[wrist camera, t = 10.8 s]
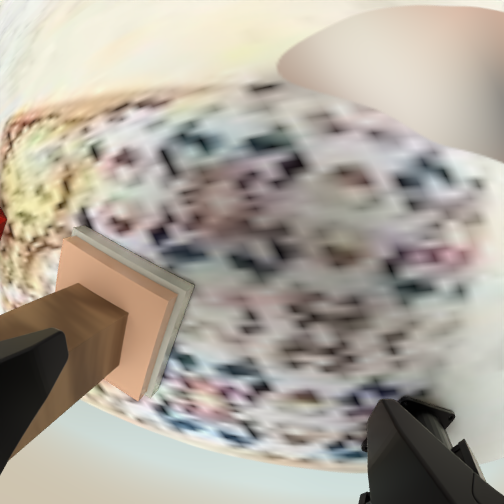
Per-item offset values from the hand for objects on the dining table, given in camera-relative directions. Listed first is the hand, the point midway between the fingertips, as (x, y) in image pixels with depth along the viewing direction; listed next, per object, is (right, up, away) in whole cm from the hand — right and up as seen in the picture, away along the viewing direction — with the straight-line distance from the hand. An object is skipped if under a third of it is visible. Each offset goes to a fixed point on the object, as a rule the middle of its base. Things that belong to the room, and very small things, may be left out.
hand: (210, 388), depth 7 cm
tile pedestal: (-10, -2, +16) cm, 19 cm away
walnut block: (-11, -2, +13) cm, 17 cm away
